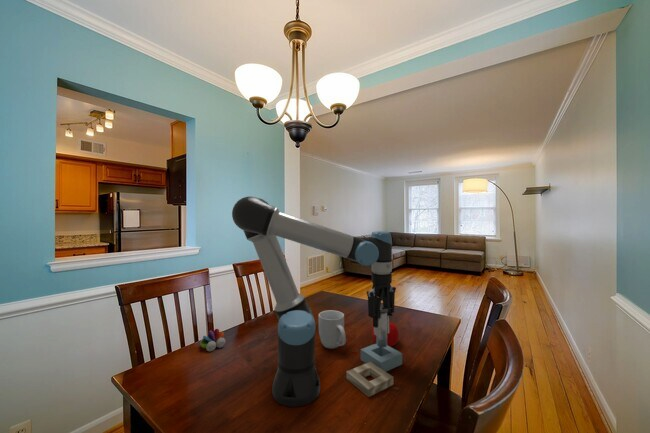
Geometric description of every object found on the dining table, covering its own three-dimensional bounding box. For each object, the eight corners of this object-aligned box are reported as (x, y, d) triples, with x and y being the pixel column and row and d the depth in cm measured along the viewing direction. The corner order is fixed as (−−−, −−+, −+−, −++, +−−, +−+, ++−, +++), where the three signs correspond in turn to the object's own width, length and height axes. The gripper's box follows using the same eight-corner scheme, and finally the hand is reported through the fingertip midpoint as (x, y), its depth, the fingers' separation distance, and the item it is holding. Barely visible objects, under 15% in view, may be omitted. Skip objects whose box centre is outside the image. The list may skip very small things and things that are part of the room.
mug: (355, 350, 109) (355, 319, 109) (333, 358, 103) (333, 325, 103) (334, 336, 122) (334, 308, 122) (313, 343, 116) (313, 313, 115)
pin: (381, 349, 98) (381, 311, 98) (373, 343, 102) (373, 307, 101) (390, 345, 100) (390, 308, 100) (381, 340, 104) (381, 305, 104)
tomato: (394, 354, 107) (394, 328, 107) (367, 346, 112) (367, 322, 112) (401, 341, 117) (401, 318, 117) (376, 335, 123) (376, 313, 123)
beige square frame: (368, 397, 81) (368, 389, 81) (346, 378, 91) (346, 371, 91) (393, 384, 87) (393, 377, 87) (370, 368, 97) (370, 361, 97)
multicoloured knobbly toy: (228, 346, 113) (228, 329, 113) (205, 355, 106) (205, 336, 105) (219, 339, 118) (219, 323, 118) (197, 347, 111) (197, 330, 111)
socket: (381, 373, 93) (381, 362, 93) (360, 359, 103) (360, 349, 103) (402, 364, 100) (402, 353, 99) (380, 351, 109) (380, 341, 109)
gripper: (372, 277, 93) (372, 343, 93) (404, 271, 102) (404, 331, 103) (358, 273, 99) (358, 335, 99) (389, 268, 109) (389, 325, 109)
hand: (381, 333), depth 101 cm, fingers closed on pin, 4 cm apart
